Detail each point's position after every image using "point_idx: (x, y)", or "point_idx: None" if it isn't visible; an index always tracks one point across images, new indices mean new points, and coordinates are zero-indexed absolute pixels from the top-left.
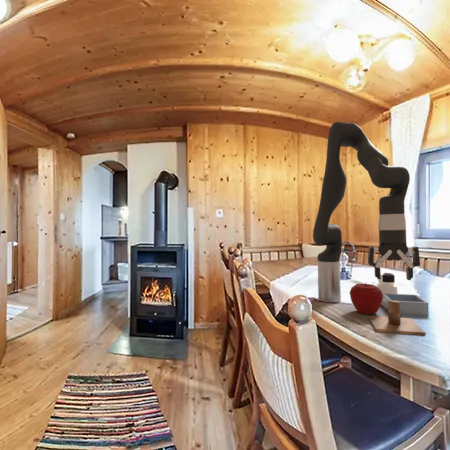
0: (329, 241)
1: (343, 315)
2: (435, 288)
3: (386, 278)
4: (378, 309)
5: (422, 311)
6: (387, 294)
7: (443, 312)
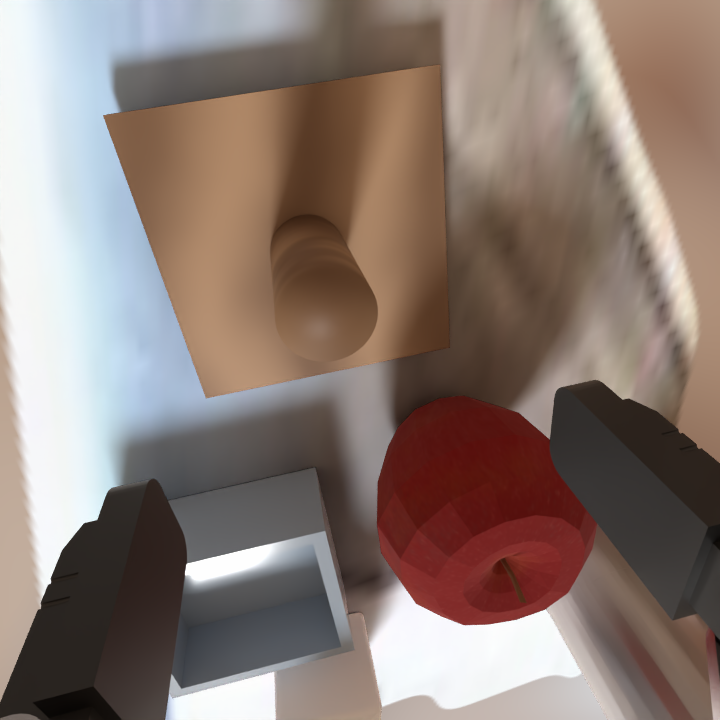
0: None
1: (564, 358)
2: None
3: None
4: (386, 453)
5: None
6: (328, 647)
7: None
